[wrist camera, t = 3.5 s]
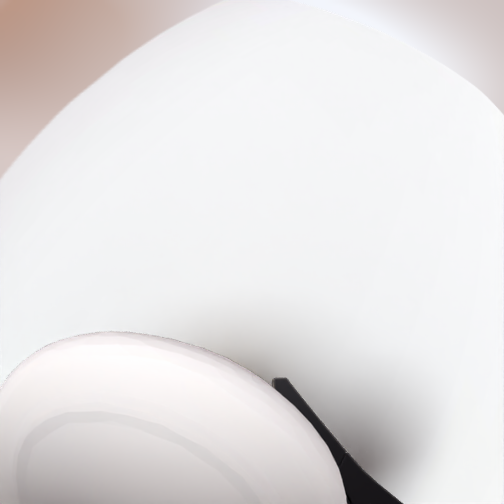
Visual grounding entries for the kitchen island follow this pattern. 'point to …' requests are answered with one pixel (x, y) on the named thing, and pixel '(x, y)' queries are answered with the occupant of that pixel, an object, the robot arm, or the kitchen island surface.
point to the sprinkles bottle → (154, 429)
